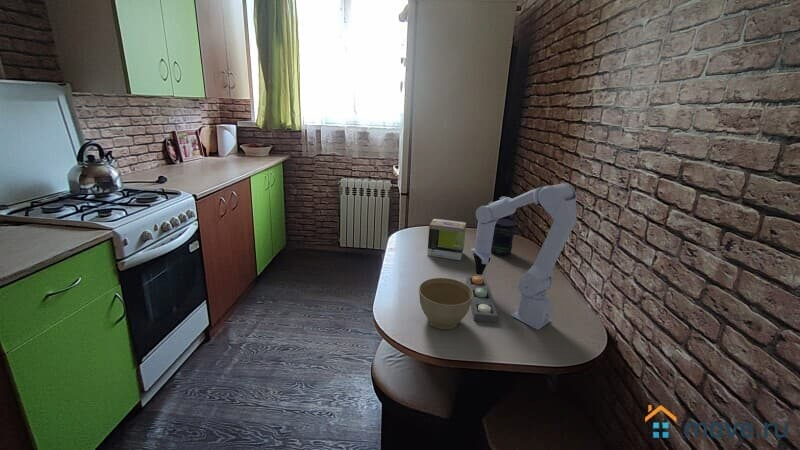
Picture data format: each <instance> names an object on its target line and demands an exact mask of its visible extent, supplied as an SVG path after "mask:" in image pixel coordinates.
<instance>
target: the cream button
mask: <svg viewBox="0 0 800 450" xmlns="http://www.w3.org/2000/svg"><path fill="white" fill-rule="evenodd" d="M478 312H481V313H491V307H490V306H488V305H486V304H480V305H479V306H478Z"/></svg>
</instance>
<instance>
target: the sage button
mask: <svg viewBox="0 0 800 450" xmlns="http://www.w3.org/2000/svg"><path fill="white" fill-rule="evenodd" d="M475 297H477V298H486V297H487V290H486V289H484V288H476V289H475Z"/></svg>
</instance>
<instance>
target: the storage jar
mask: <svg viewBox="0 0 800 450" xmlns="http://www.w3.org/2000/svg"><path fill="white" fill-rule="evenodd" d="M516 223H517V222H515V221H514V220H512V219H508V218H503V217H502V218H500V219H498V220H497V221H496V225H495V228H494V234H493V241H492V247H491V255H493V256H497V257H502V258H505V257H510V256H511V253H512V249H513V239H514V235H515V232H516V225H517V224H516Z"/></svg>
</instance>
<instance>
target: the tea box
mask: <svg viewBox="0 0 800 450" xmlns="http://www.w3.org/2000/svg"><path fill="white" fill-rule="evenodd" d="M428 227H429V229H428V239H427V241H428V242H427V252H426V253H427V254H426V255H427V256H430V257H437V258H443V259H451V260H456V261H461V260H462V257H463V253H464V247H465V238H466V230H467V229H466V228H467V222H465V221H459V220H458V221H457V220H449V219H442V218H441V219H440V218H433V219H432V220H431V222H430V223H429V226H428Z"/></svg>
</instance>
